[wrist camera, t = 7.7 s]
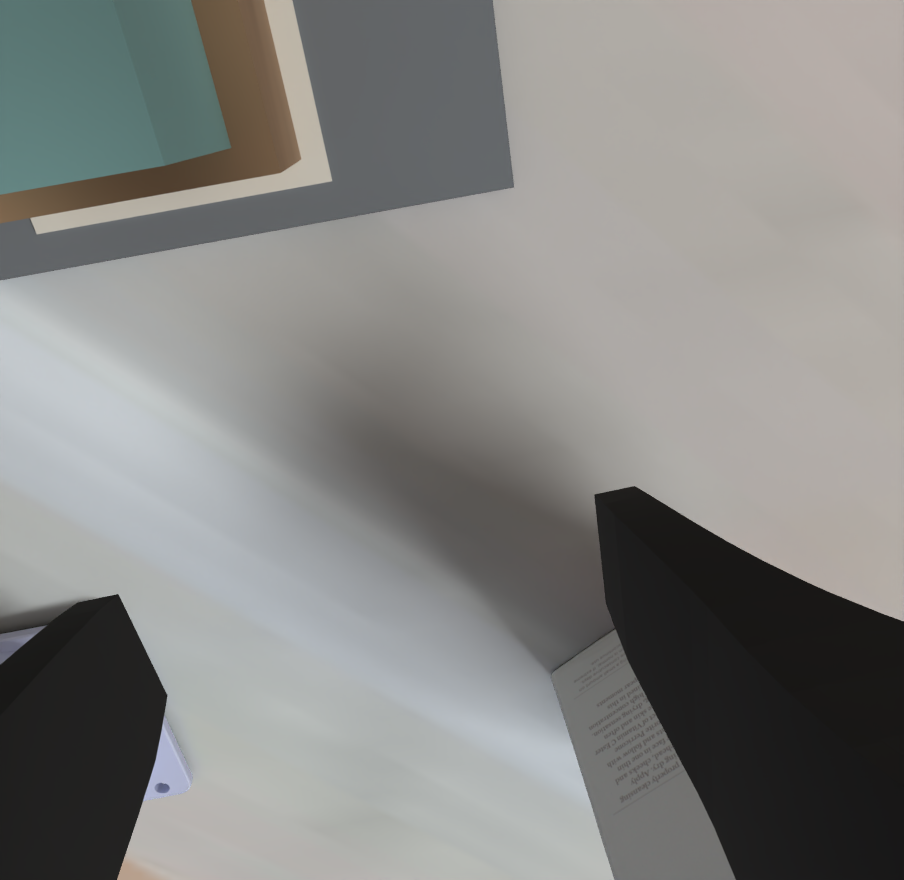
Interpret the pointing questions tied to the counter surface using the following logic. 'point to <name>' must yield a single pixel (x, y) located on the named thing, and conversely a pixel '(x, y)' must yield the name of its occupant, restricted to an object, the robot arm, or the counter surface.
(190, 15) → the teal block
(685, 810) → the small box
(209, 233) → the mat
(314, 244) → the counter surface
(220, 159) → the walnut block
